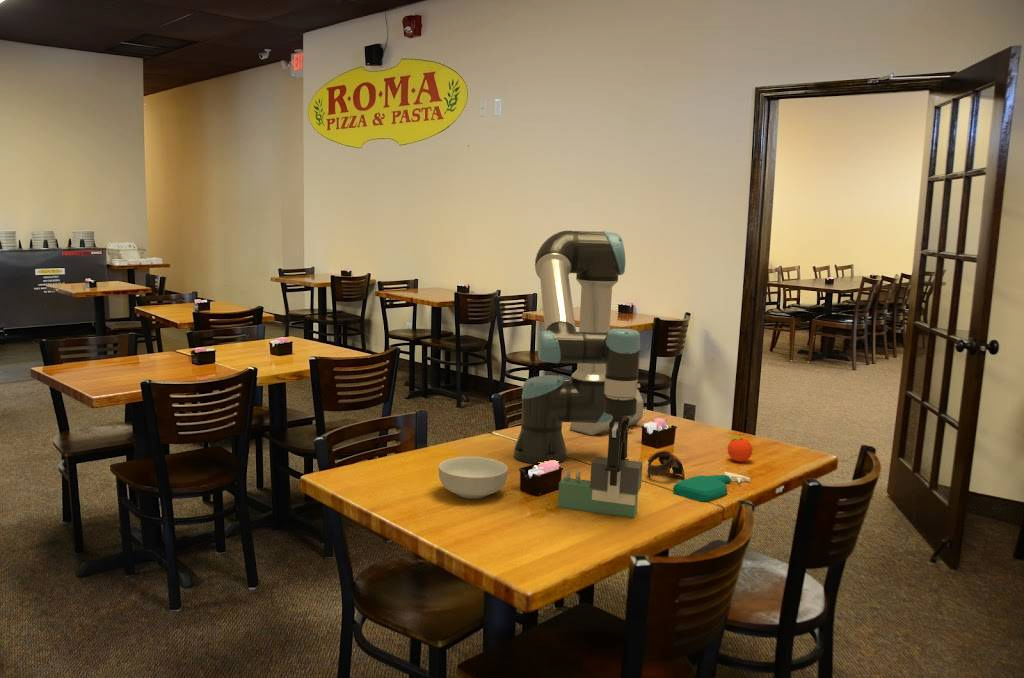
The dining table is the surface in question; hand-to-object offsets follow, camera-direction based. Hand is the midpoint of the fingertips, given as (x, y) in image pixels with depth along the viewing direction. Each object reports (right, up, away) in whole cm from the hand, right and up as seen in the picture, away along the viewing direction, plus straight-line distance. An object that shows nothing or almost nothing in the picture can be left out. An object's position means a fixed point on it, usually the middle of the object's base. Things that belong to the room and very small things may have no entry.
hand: (615, 493), depth 187 cm
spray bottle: (+28, -3, +21) cm, 35 cm away
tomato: (+41, 0, +46) cm, 62 cm away
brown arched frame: (+17, -1, +29) cm, 34 cm away
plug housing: (0, +2, 0) cm, 2 cm away
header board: (-4, -4, +2) cm, 6 cm away
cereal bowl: (-34, -2, +10) cm, 36 cm away
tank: (+9, +6, +78) cm, 79 cm away
